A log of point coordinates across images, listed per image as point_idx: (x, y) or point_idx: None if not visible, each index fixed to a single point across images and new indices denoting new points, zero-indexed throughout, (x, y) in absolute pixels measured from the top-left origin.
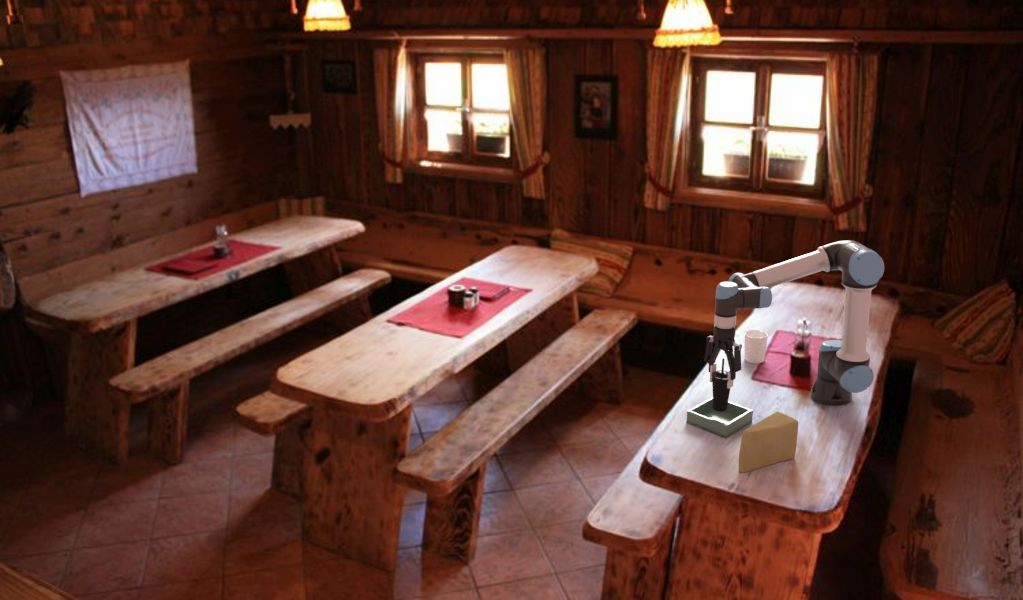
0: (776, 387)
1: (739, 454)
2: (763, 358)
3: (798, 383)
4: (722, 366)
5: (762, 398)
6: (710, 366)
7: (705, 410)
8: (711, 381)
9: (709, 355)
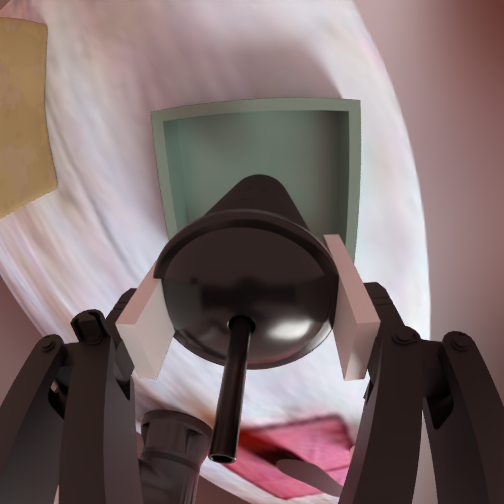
0: (275, 418)
1: (13, 18)
2: (350, 455)
3: (254, 439)
4: (232, 368)
5: (266, 378)
6: (376, 313)
7: (338, 207)
8: (324, 239)
9: (444, 418)
